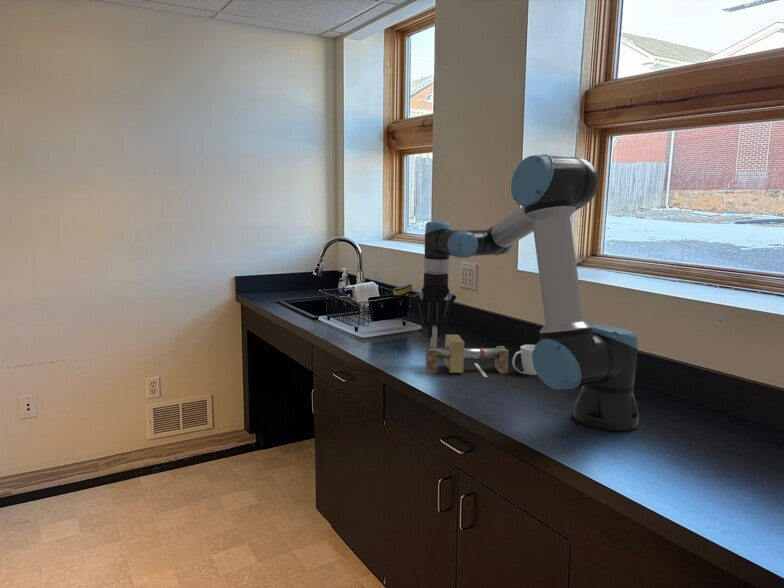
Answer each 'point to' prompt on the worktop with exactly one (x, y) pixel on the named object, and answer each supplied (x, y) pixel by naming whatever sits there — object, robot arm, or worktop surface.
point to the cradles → (500, 362)
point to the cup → (526, 359)
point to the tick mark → (480, 370)
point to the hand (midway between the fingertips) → (433, 346)
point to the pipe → (471, 352)
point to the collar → (454, 353)
